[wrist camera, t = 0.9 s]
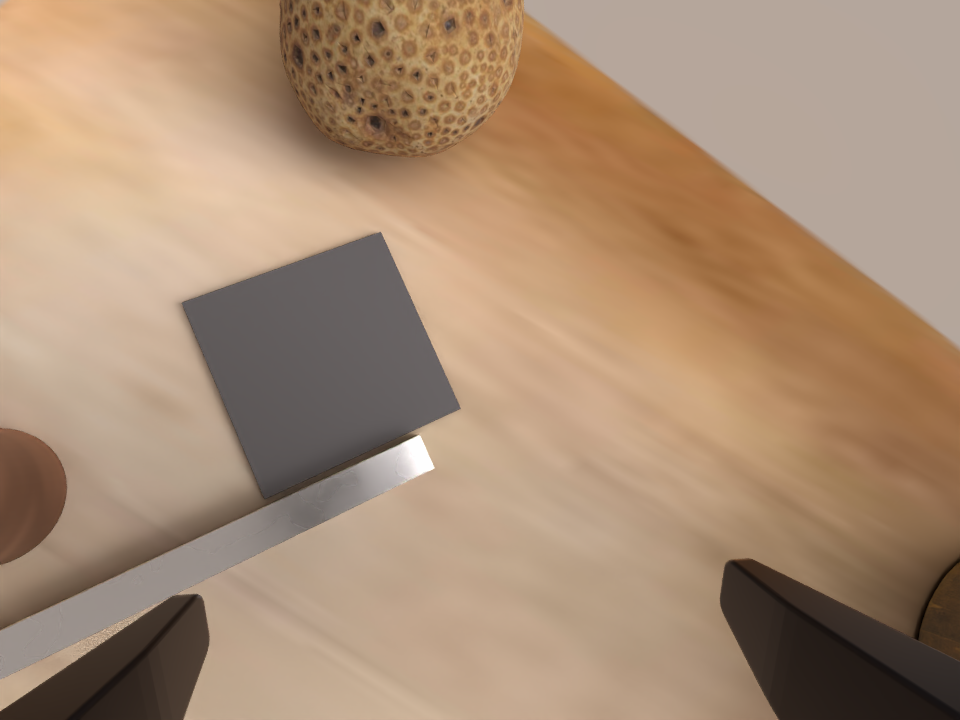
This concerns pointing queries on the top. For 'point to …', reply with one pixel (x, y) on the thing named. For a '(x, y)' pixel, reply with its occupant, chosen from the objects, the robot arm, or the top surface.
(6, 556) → the brown thread spool
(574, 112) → the top surface
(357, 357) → the grey square plate
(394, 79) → the natural sponge
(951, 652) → the wooden container
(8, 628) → the steel straightedge
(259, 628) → the top surface
